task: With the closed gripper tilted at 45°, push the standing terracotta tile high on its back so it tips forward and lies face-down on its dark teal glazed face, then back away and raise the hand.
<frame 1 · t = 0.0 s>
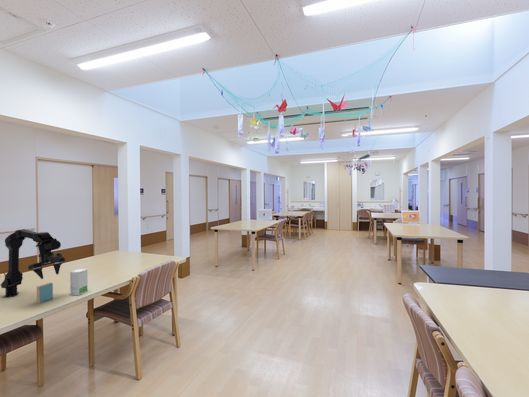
hand: (50, 276, 169), 15 cm above the table, tool pointing down, fingers open, 9 cm apart
skincare box: (79, 293, 183), on the table
terracotta tile: (43, 300, 170), on the table
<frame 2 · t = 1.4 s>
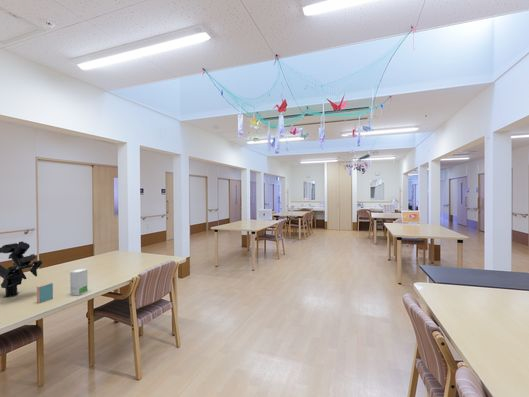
hand: (31, 277, 173), 14 cm above the table, tool tilted 45°, fingers open, 6 cm apart
nothing on the table moved.
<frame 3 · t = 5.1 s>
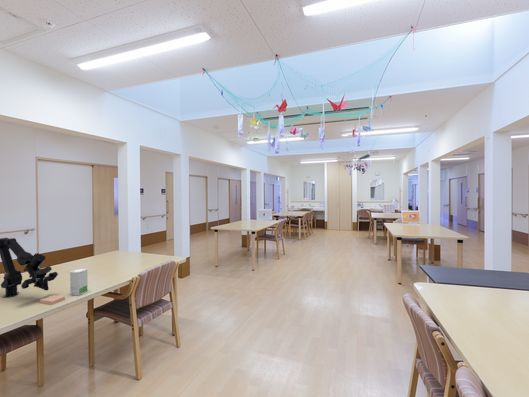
hand: (47, 290, 169), 7 cm above the table, tool tilted 45°, fingers closed
terracotta tile: (46, 297, 170), point 2 cm above the table, tilted 90°
everything else where it was.
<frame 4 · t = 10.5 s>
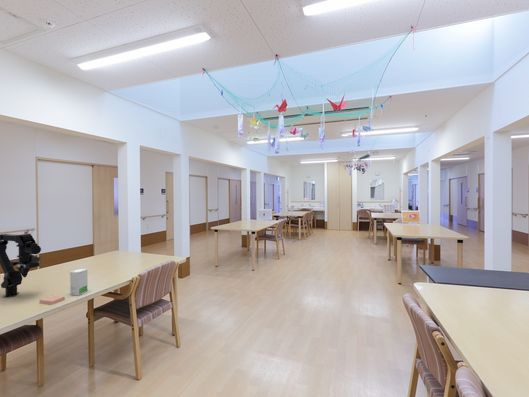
hand: (24, 277, 175), 13 cm above the table, tool pointing down, fingers closed
nothing on the table moved.
at the end: terracotta tile tilted 90°; terracotta tile point 2.0 cm above the table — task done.
